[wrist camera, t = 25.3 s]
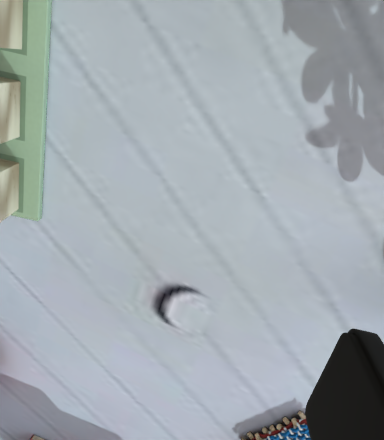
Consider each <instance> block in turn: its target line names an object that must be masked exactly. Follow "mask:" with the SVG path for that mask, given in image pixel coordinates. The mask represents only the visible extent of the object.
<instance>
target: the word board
mask: <svg viewBox="0 0 384 440" xmlns="http://www.w3.org/2000/svg"><path fill="white" fill-rule="evenodd" d="M51 4H52V0H23V23H22V49H8V48H0V77H4V78H9V79H13V80H17V81H20V82H21V86H20V137H18V138H15V139H12V140H10V141H7V142H4V143H2V144H0V159H5V160H9V161H13V162H18V163H19V209H18V210H17V211H15V212H14V213H13V214H11V215H13V216H17V217H21V218H26V219H30V220H35V221H39V220H40V219H41V215H42V194H43V173H44V152H45V131H46V110H47V89H48V68H49V46H50V25H51Z"/></svg>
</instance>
